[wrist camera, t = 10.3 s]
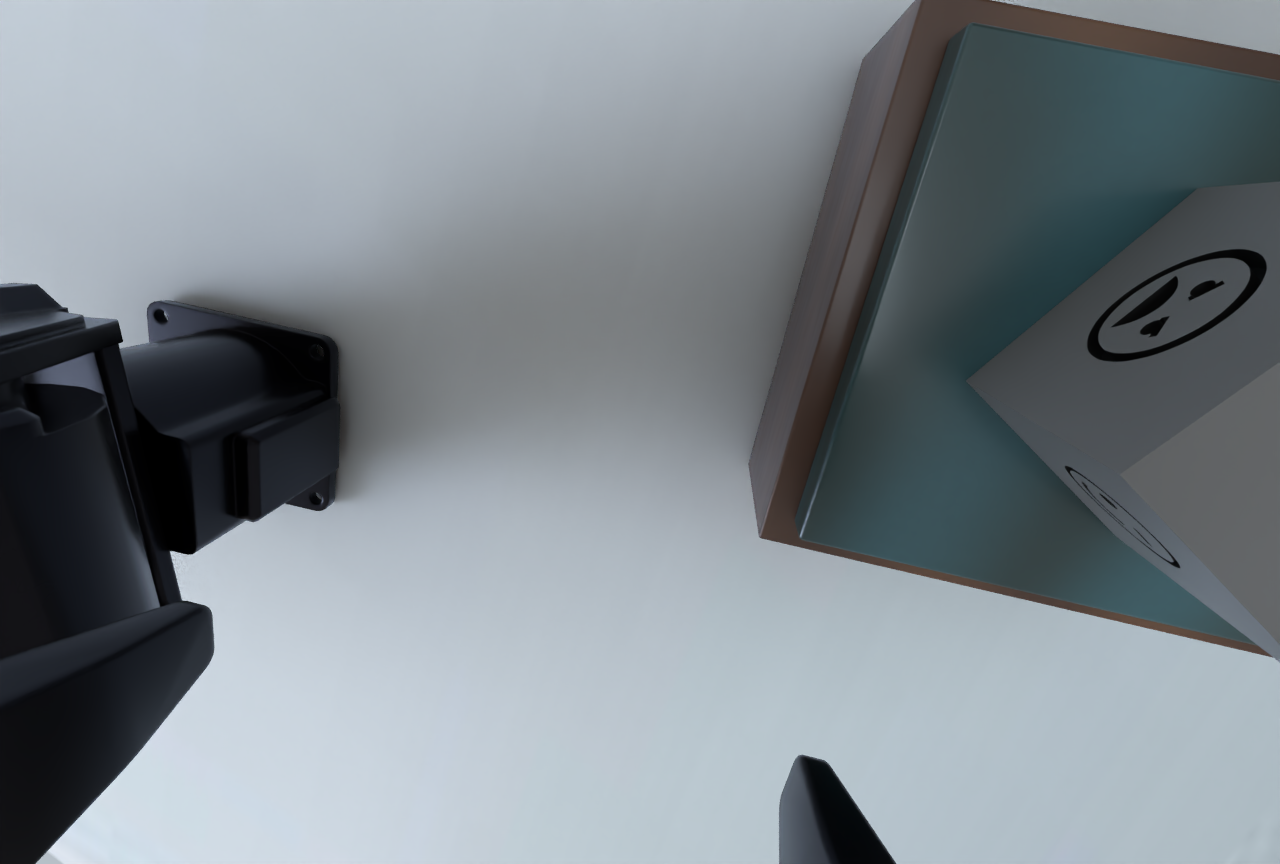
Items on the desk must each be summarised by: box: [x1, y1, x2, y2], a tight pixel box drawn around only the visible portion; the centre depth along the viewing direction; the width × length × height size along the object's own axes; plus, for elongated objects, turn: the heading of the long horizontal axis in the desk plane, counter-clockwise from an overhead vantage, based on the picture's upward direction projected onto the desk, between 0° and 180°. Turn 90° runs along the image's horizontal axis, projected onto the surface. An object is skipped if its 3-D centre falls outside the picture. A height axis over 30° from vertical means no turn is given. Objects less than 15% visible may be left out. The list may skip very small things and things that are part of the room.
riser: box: [749, 0, 1280, 657], centre depth 15 cm, size 13×12×6 cm
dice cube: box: [966, 182, 1280, 662], centre depth 10 cm, size 5×5×5 cm
